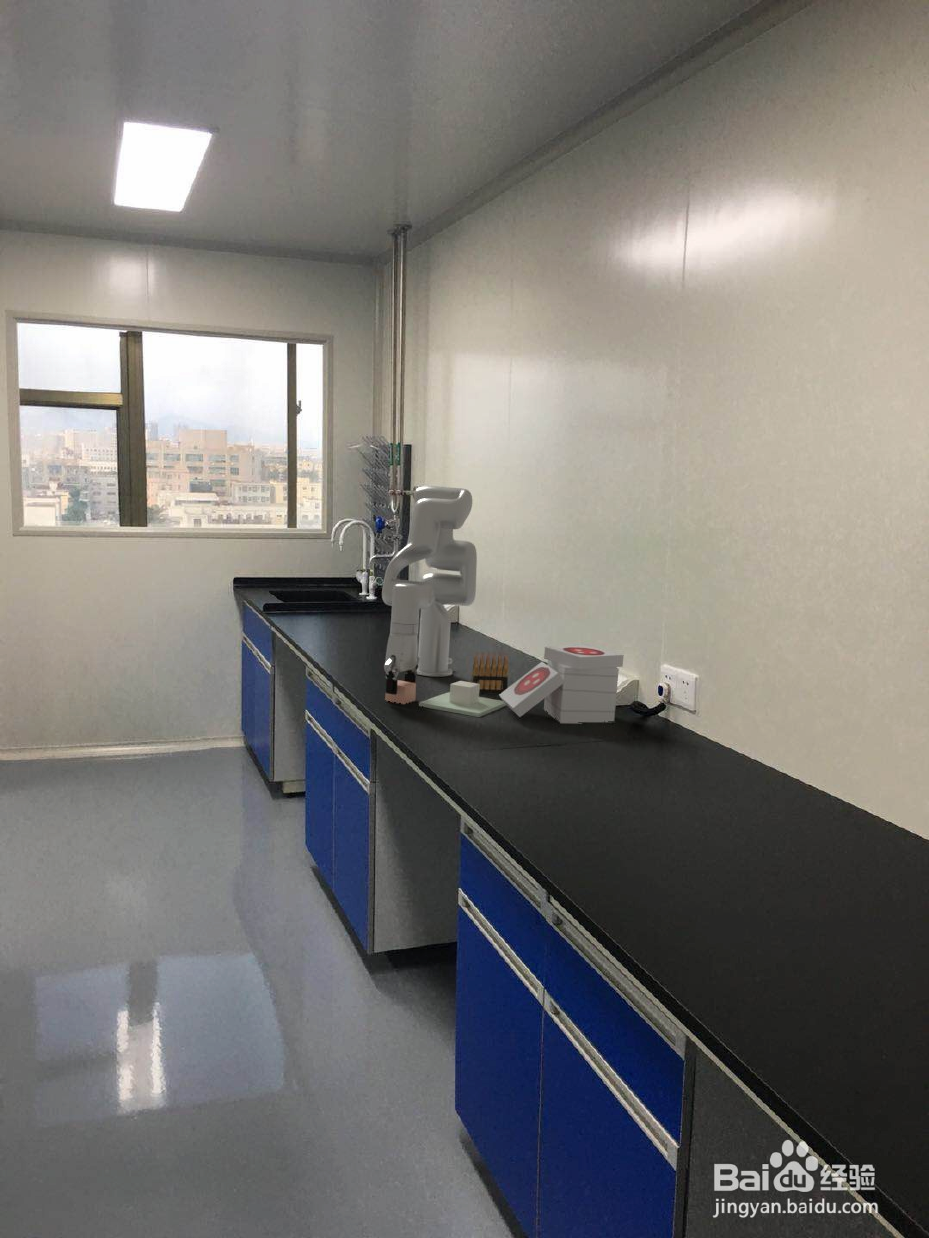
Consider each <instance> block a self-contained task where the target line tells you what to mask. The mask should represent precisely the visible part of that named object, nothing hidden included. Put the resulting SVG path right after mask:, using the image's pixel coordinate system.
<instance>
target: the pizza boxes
mask: <svg viewBox="0 0 929 1238" xmlns="http://www.w3.org/2000/svg"><path fill="white" fill-rule="evenodd" d="M543 659H544V660H547V664H546V663H544V662H543V661H541V662H539V663H538V664H537V665H536V666H534V667H533V668H532V669H530V670H529V671H528V672H527V673H525V674H524V675H523V676H521V677H520V678H518V679H517V680H516V681H515V682H514V683H511V685H510V686H507V689H506V690H505V691H503V692H502V693H501V694H498V696H499V698H500V699H501V701H504V703H505V704H506V705H507V706H506V707H508V708H509V709H511V711H512V712H514V714H516V715H517V716H518V717H519V718H521V717H522V716H524V715H525V714H526V713H527V712H528V711H530V710H531V709H532V708H534V707H535V706H536V705H538V704H539V703H541V701H542V700H544V705H543V710H544V711H545V712H546V711H547V712H548V713H547V712H546V713H547V714H548V715H550V716H551V717H552V718H553V719H555V718H556V719H557V720H558V721H559V722H560V724H579V723H578V722H604V721H605V722H608V721H614V722H615V714H616V703H617V691H618V681H619V671H620V669H619V668H623V667H624V654H622V653H617V652H615V651H611V650H607V649H604V648H600V647H596V646H592V645H589V644H580V645H559V646H557V645H556V646H555V645H554V646H544V654H543ZM556 719H555V720H556ZM557 720H556V721H557ZM558 721H557V722H558ZM559 722H558V723H559Z"/></svg>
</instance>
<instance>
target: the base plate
mask: <svg viewBox="0 0 929 1238" xmlns="http://www.w3.org/2000/svg"><path fill="white" fill-rule="evenodd" d="M449 699H450V691H448V692H445V693H442V694H439V695H436V696H433V697H431V698H428V699H425V700H422V701H419V702H418V707H422V706H423V707H424V708H428V709H432V710H437V711H444V712H449V713H455V714H461V715H466V716H470V717H471V716H472V717H476V718H480V717H482V716H485V715H488V714H490V713H492V711H493V712H496V711H497V710H499V709H502V708H504V707H508V706H507V705H506V704H505V703H504V701H503V700H502V699H501V700H500V699H493V698H489V697H483V696H479V702H477V703H475V704H472V705H470V706H468V705H463V704H457V703H451V702H449ZM423 707H422V708H423Z"/></svg>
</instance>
